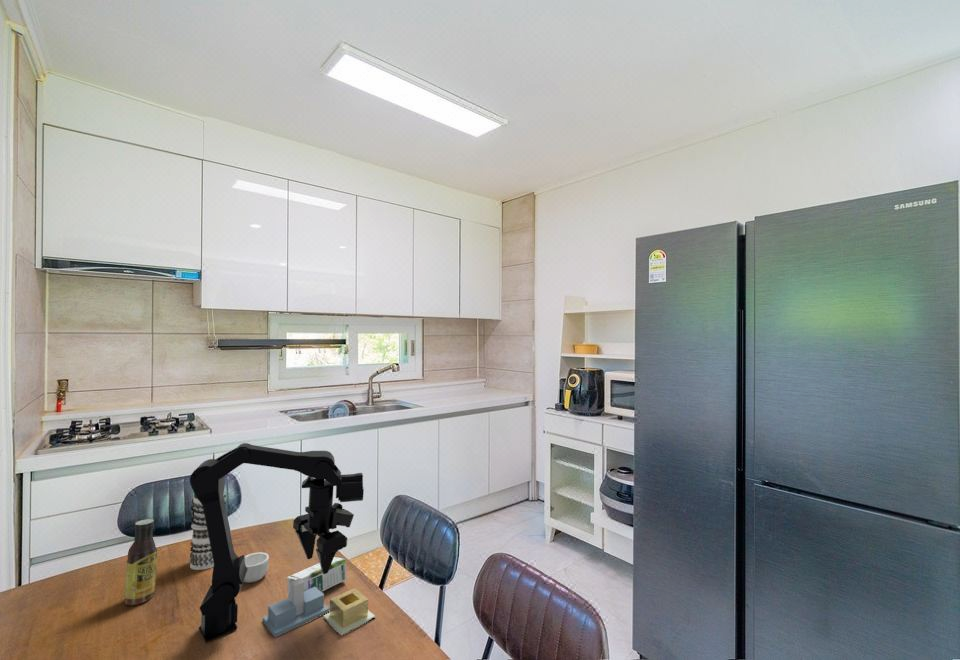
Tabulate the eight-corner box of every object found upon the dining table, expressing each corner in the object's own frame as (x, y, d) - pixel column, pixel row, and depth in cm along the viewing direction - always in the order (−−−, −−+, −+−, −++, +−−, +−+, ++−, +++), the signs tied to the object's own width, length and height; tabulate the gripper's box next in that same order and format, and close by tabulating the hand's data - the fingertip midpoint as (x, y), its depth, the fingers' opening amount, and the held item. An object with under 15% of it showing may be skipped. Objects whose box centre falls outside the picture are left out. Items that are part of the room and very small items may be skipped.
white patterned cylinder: (191, 558, 131) (193, 477, 132) (225, 552, 135) (228, 473, 136) (185, 573, 123) (188, 486, 124) (222, 566, 127) (224, 482, 128)
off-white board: (341, 636, 98) (341, 633, 98) (323, 617, 105) (323, 615, 105) (375, 618, 105) (375, 615, 105) (356, 602, 111) (356, 599, 111)
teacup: (259, 586, 117) (259, 567, 117) (231, 585, 118) (232, 566, 118) (277, 567, 127) (277, 549, 127) (252, 566, 128) (252, 548, 128)
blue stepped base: (275, 637, 98) (276, 600, 98) (262, 621, 103) (263, 585, 103) (330, 611, 107) (331, 577, 107) (315, 597, 113) (316, 565, 113)
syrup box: (347, 580, 120) (299, 604, 108) (334, 577, 123) (286, 600, 111) (345, 558, 120) (298, 580, 109) (333, 556, 124) (285, 577, 112)
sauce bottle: (137, 608, 107) (140, 529, 107) (117, 605, 108) (120, 526, 109) (161, 593, 113) (164, 518, 114) (142, 590, 115) (145, 516, 115)
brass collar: (342, 628, 100) (343, 611, 100) (329, 615, 105) (330, 598, 105) (367, 615, 105) (368, 599, 105) (354, 603, 110) (354, 588, 110)
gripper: (368, 506, 107) (365, 570, 106) (334, 486, 120) (331, 542, 119) (325, 518, 99) (321, 586, 98) (293, 495, 112) (290, 555, 112)
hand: (317, 565), depth 107 cm, fingers open, 9 cm apart
